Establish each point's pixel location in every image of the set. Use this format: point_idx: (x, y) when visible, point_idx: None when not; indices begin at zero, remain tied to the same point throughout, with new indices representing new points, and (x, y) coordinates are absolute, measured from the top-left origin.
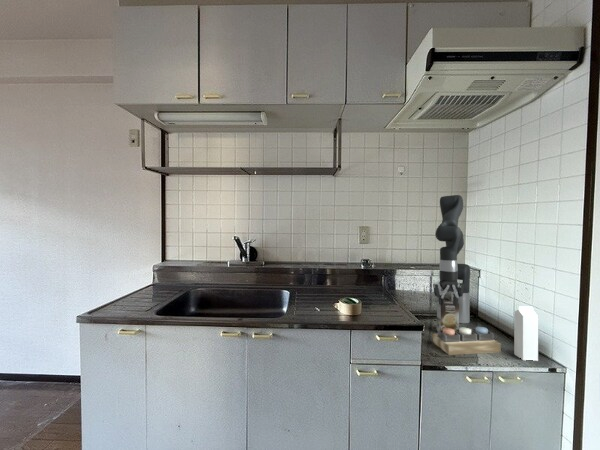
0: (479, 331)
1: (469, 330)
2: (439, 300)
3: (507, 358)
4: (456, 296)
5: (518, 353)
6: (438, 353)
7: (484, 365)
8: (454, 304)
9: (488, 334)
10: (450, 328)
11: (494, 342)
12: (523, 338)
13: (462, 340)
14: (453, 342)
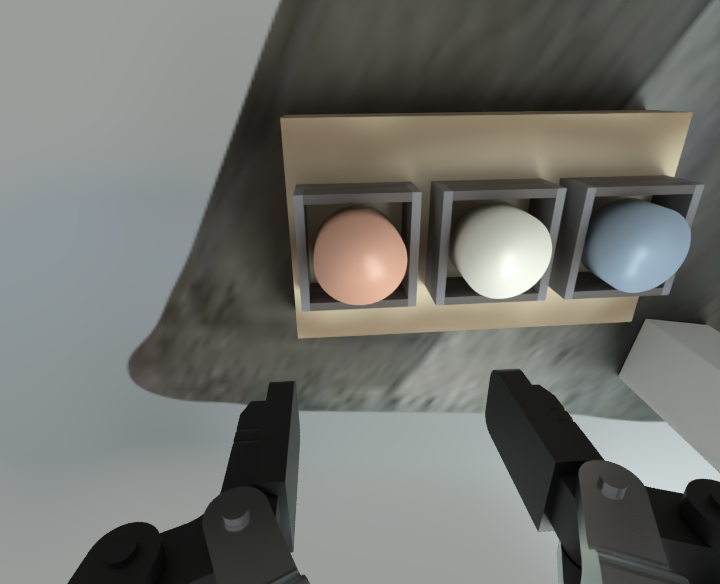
0: (597, 272)
1: (519, 285)
2: (232, 472)
3: (569, 356)
4: (565, 571)
5: (643, 359)
6: (248, 292)
7: (409, 410)
8: (494, 404)
9: (628, 294)
10: (396, 233)
11: (610, 305)
12: (702, 456)
13: (426, 286)
14: None
